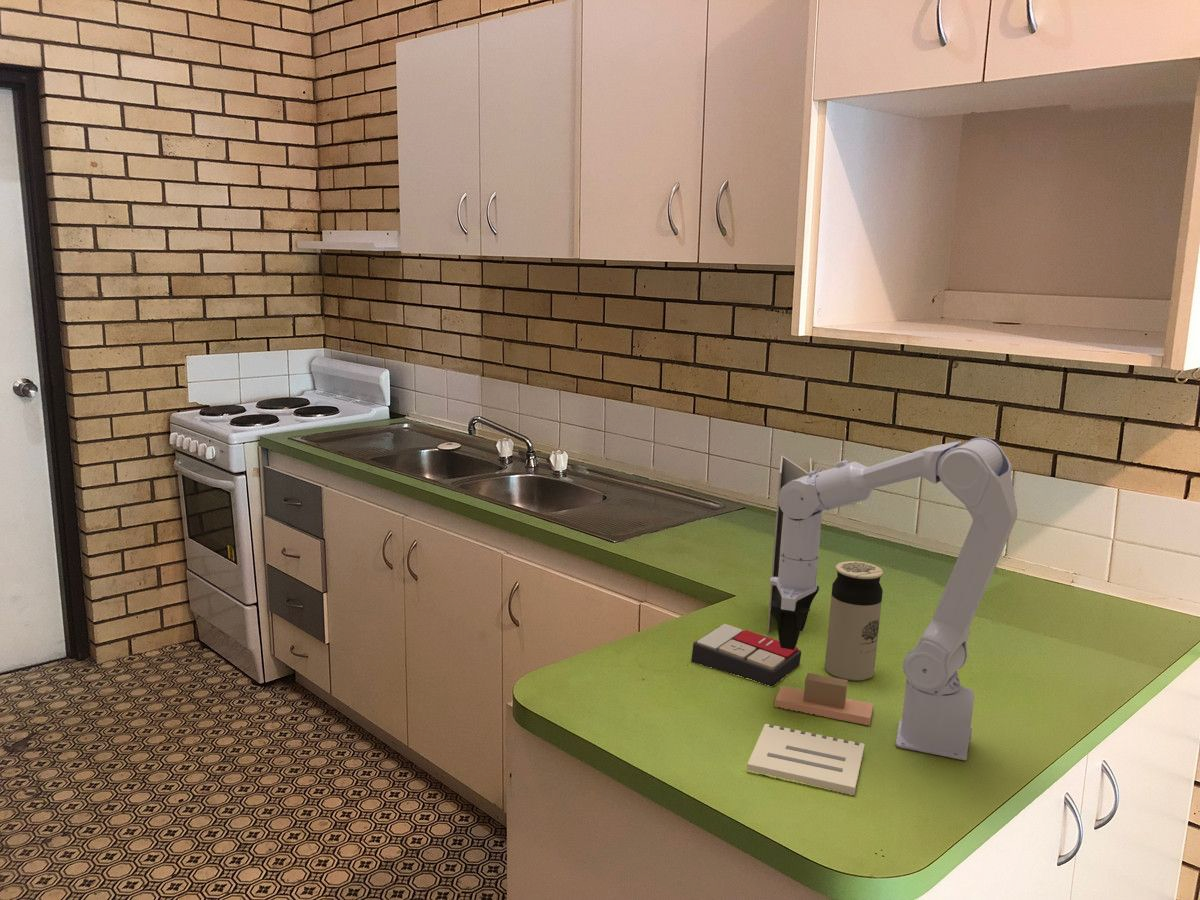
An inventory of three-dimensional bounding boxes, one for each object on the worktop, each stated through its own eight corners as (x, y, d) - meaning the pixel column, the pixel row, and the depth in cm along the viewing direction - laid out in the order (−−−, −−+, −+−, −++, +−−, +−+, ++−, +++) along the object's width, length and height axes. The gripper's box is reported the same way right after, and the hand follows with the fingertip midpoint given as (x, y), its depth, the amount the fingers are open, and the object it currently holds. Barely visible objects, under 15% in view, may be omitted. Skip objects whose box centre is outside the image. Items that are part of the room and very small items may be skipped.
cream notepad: (863, 751, 136) (864, 743, 136) (854, 796, 125) (855, 786, 125) (764, 731, 141) (765, 723, 141) (746, 772, 130) (747, 763, 130)
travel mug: (815, 664, 164) (824, 562, 160) (855, 658, 167) (865, 558, 163) (842, 684, 157) (853, 578, 153) (883, 678, 160) (895, 574, 156)
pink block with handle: (872, 710, 148) (875, 681, 147) (869, 725, 144) (872, 695, 143) (780, 693, 153) (783, 664, 152) (774, 706, 148) (777, 677, 147)
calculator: (774, 668, 154) (692, 638, 163) (771, 692, 156) (690, 662, 164) (803, 646, 163) (723, 619, 171) (799, 669, 164) (720, 642, 173)
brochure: (798, 637, 175) (812, 475, 168) (766, 634, 176) (779, 472, 170) (798, 609, 189) (811, 458, 182) (769, 606, 190) (781, 455, 183)
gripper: (781, 538, 156) (774, 618, 159) (763, 565, 142) (756, 651, 145) (826, 544, 153) (818, 625, 156) (812, 572, 140) (804, 660, 143)
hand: (791, 638), depth 151 cm, fingers open, 7 cm apart
